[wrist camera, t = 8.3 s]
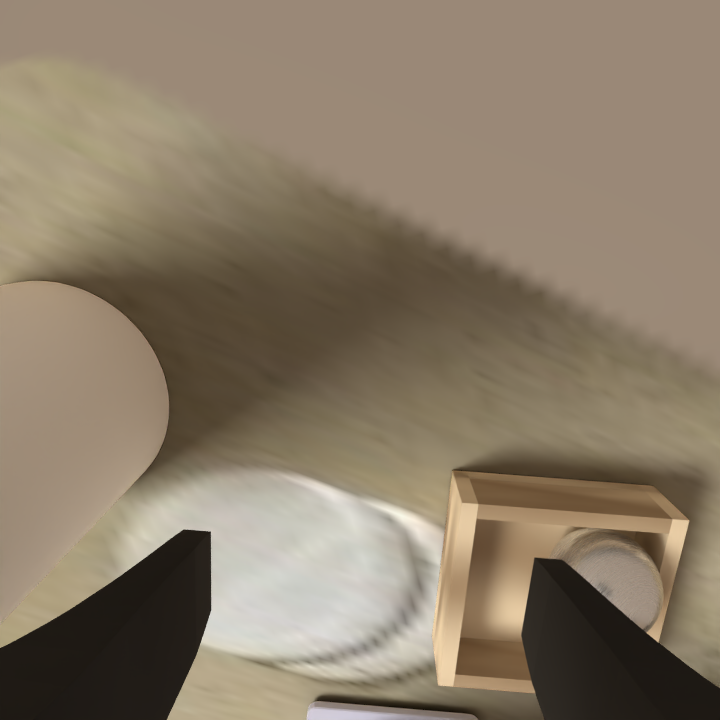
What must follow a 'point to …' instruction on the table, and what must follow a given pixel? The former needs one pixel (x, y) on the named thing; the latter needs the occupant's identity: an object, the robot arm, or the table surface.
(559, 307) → the table surface
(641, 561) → the ball
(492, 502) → the tray
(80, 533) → the paper towel roll
